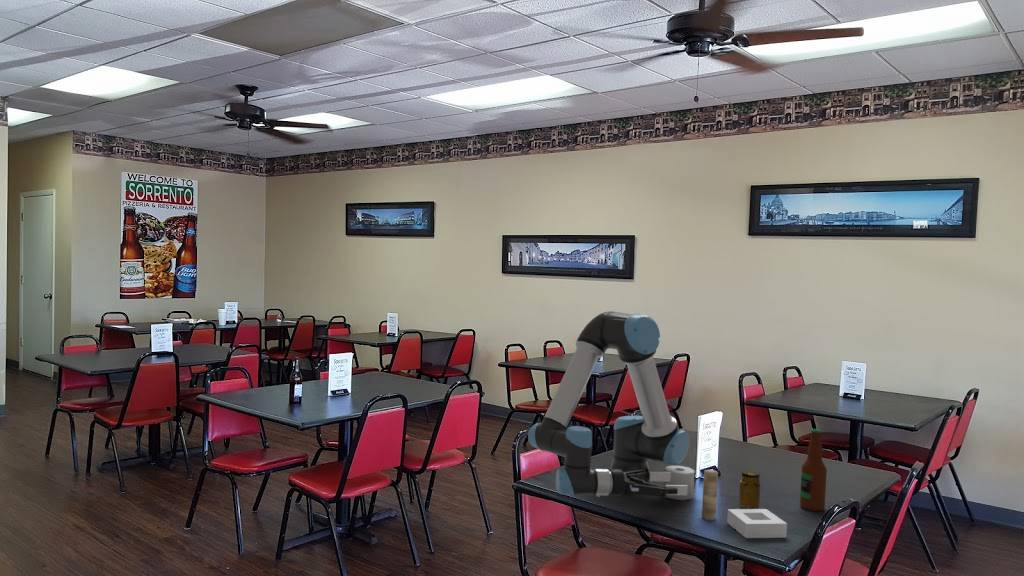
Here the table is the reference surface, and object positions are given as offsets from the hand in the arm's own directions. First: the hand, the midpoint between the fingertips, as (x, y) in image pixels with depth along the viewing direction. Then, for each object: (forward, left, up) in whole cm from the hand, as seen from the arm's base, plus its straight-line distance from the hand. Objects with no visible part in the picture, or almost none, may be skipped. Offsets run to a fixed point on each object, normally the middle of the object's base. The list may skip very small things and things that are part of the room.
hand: (678, 483), depth 214 cm
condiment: (-5, +26, -11) cm, 29 cm away
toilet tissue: (-23, +9, -11) cm, 27 cm away
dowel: (0, +10, -11) cm, 15 cm away
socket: (+10, +20, -11) cm, 25 cm away
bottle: (-8, +48, -11) cm, 50 cm away
